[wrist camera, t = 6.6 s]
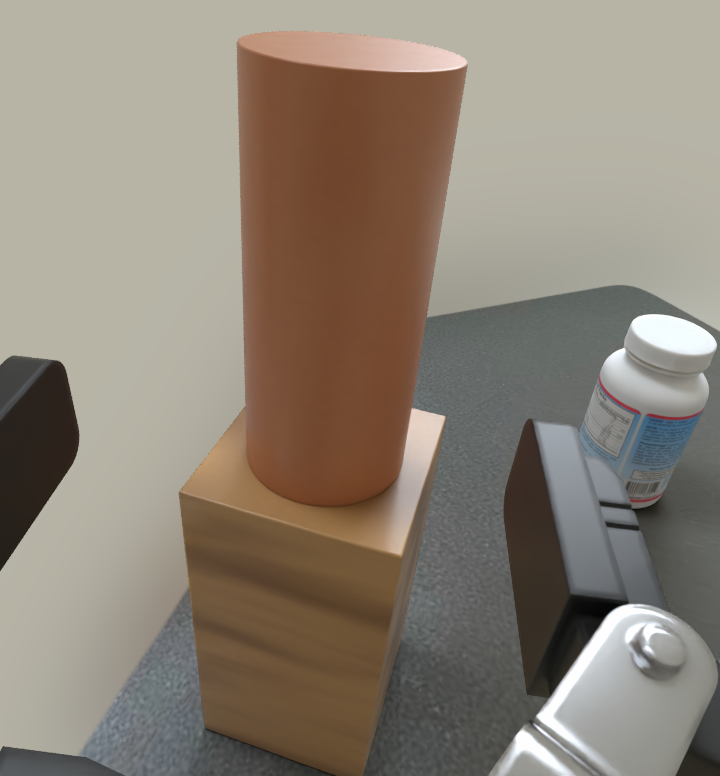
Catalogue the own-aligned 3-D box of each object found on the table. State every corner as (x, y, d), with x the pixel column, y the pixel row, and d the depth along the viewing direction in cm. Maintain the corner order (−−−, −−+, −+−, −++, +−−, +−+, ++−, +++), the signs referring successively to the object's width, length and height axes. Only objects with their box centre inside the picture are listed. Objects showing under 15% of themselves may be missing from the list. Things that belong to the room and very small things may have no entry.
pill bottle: (662, 467, 44) (730, 324, 38) (658, 525, 40) (734, 374, 33) (574, 438, 46) (624, 298, 40) (559, 491, 41) (613, 342, 35)
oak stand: (360, 785, 26) (402, 557, 18) (203, 728, 27) (177, 491, 19) (401, 639, 32) (447, 415, 24) (269, 598, 33) (270, 372, 25)
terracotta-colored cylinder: (258, 518, 19) (253, 64, 12) (237, 410, 23) (225, 25, 16) (425, 494, 20) (507, 76, 13) (377, 397, 24) (422, 37, 17)
